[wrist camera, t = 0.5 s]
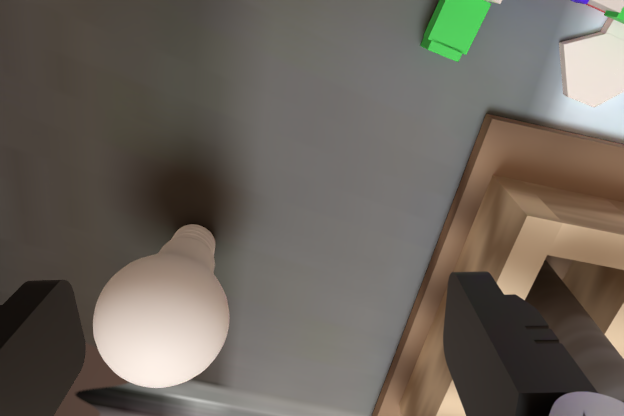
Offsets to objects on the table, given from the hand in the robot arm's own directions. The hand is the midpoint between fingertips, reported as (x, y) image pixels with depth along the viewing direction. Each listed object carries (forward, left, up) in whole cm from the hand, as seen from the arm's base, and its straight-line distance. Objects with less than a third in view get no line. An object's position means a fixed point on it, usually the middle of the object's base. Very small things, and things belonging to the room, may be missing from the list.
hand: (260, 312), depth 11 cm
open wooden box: (+10, +16, -17) cm, 26 cm away
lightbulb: (+9, -4, -19) cm, 21 cm away
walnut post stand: (+10, +16, -18) cm, 27 cm away
